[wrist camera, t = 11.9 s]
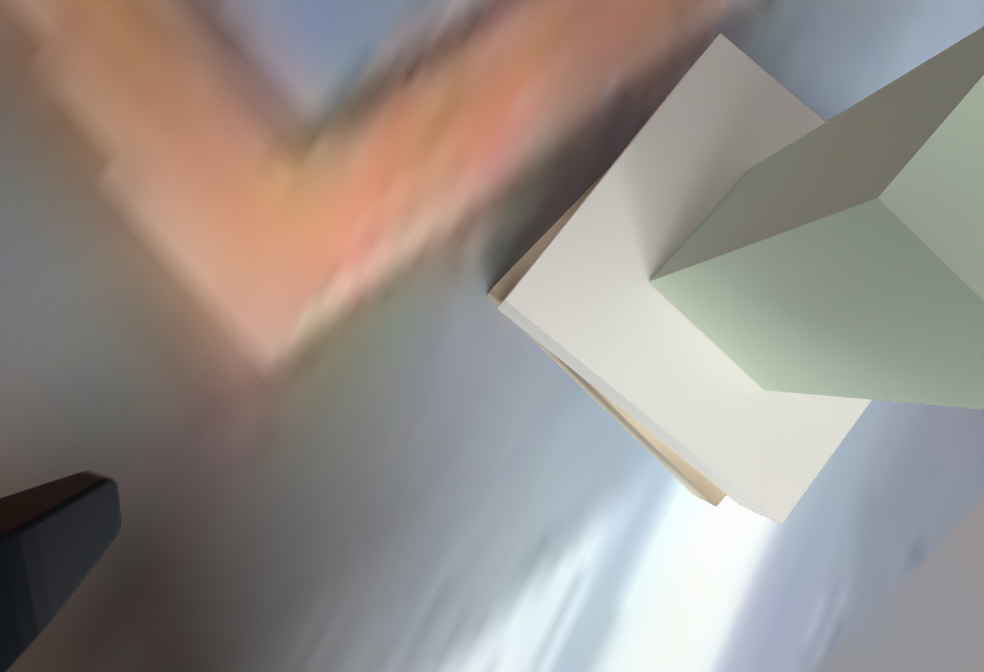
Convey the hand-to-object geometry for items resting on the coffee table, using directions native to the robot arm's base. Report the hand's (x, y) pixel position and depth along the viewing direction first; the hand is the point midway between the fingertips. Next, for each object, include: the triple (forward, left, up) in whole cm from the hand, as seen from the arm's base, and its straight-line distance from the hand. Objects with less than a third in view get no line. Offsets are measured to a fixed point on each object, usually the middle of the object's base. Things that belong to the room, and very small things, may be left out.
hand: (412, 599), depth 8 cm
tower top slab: (+10, -4, -11) cm, 15 cm away
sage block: (+10, -4, -8) cm, 14 cm away
